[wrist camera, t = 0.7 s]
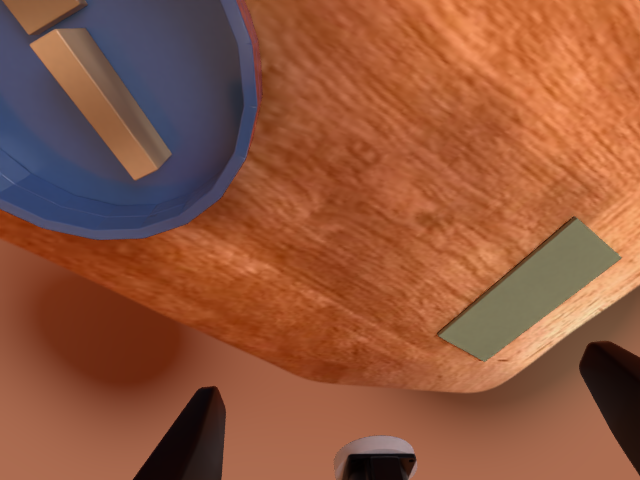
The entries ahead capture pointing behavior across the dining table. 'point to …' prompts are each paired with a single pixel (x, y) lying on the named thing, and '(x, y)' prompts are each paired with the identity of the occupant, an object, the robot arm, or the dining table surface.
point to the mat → (531, 290)
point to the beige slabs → (92, 84)
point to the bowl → (155, 101)
